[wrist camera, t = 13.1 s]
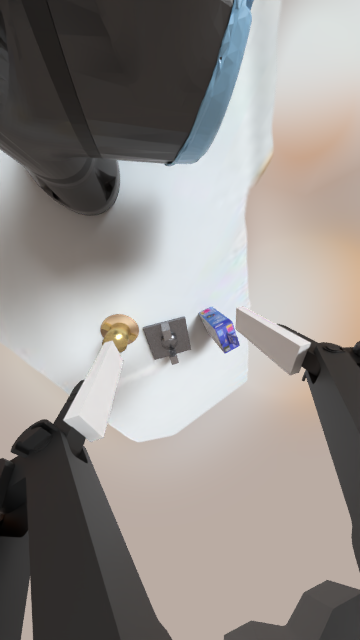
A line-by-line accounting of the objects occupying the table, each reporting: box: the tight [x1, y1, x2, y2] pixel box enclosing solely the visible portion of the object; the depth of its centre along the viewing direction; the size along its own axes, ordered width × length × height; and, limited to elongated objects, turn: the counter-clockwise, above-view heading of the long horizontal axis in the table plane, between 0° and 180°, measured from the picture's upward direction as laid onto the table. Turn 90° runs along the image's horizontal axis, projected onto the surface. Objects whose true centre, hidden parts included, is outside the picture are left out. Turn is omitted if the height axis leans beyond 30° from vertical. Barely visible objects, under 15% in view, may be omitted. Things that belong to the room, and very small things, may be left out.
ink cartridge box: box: [199, 307, 240, 353], centre depth 39 cm, size 10×6×14 cm, turn 28°
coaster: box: [101, 314, 139, 344], centre depth 40 cm, size 11×11×1 cm
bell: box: [101, 322, 137, 353], centre depth 37 cm, size 10×6×7 cm, turn 56°
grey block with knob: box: [143, 317, 191, 365], centre depth 43 cm, size 14×14×6 cm
